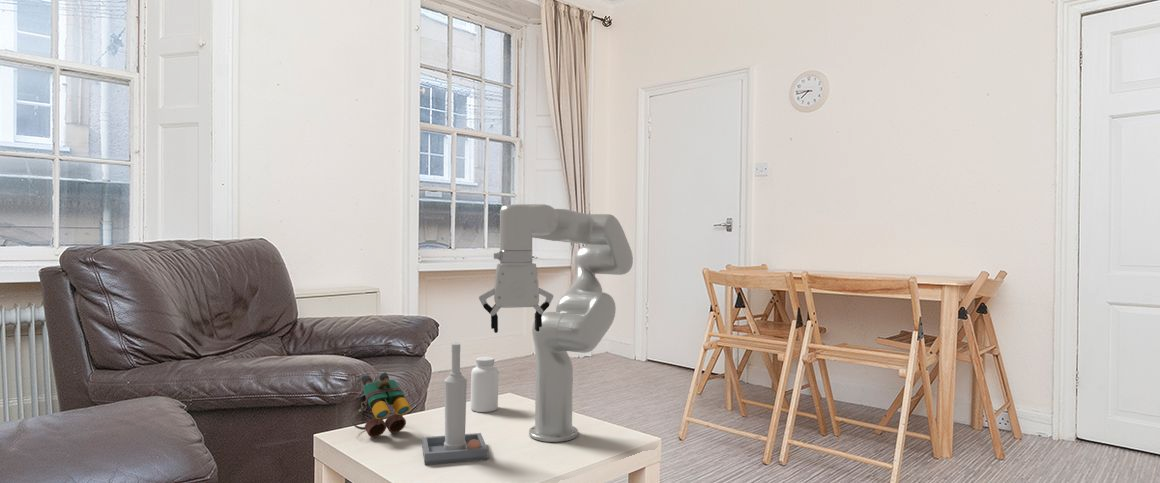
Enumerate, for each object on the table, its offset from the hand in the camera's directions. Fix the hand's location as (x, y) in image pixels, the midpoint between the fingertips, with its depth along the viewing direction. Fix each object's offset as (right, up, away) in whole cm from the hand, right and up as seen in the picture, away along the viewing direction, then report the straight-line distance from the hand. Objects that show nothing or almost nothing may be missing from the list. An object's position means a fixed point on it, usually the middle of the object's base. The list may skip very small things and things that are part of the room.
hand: (516, 331), depth 152 cm
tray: (-15, -29, +1) cm, 32 cm away
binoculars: (-35, -29, +15) cm, 48 cm away
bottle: (-15, -28, +1) cm, 32 cm away
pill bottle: (-13, -29, +39) cm, 50 cm away
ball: (-10, -28, -1) cm, 30 cm away
